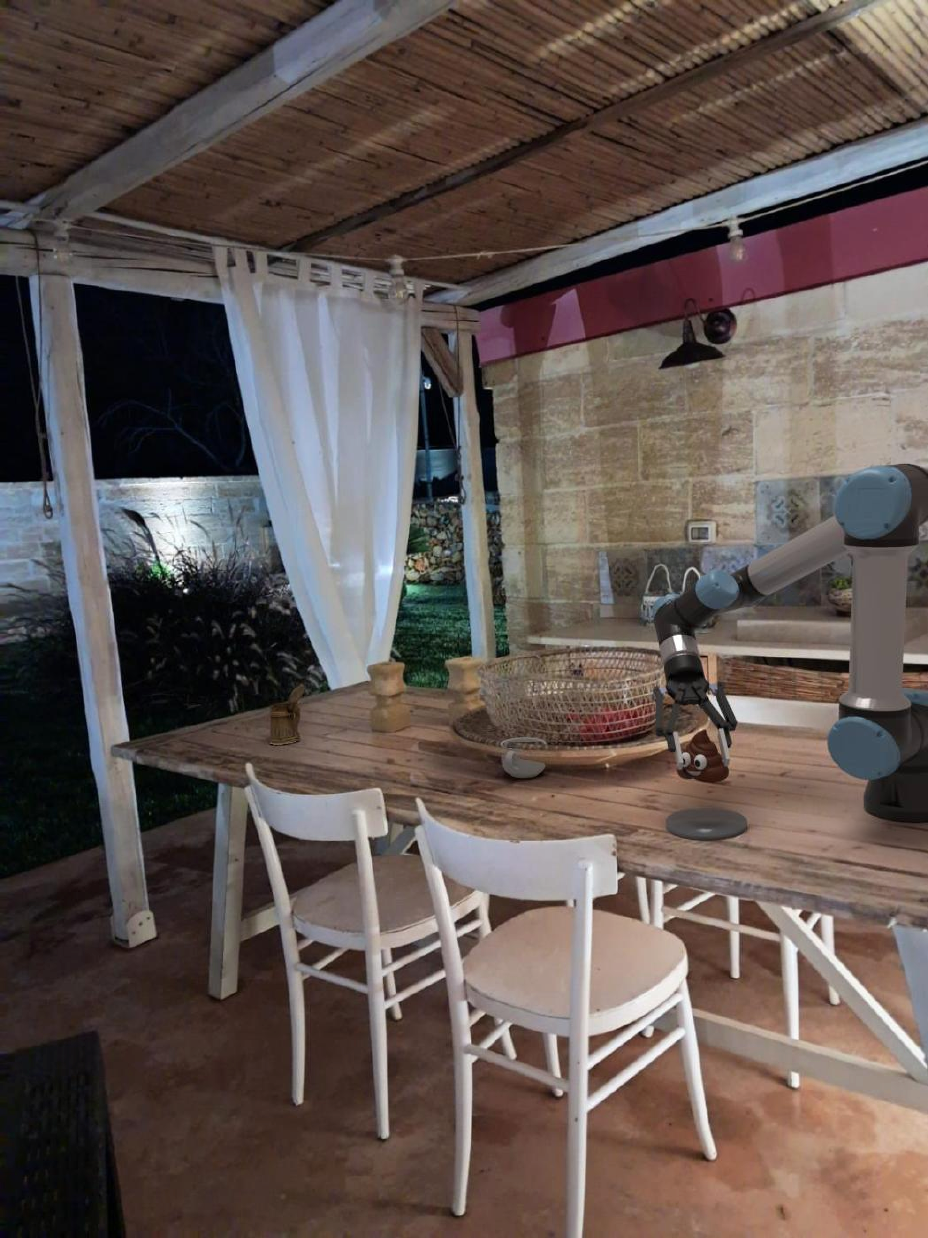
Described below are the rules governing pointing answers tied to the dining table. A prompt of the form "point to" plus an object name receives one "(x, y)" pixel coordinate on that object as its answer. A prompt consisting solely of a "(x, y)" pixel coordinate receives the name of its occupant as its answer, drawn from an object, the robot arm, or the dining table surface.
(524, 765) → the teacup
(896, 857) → the dining table surface
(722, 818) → the charcoal plate
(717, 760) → the poop emoji
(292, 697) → the wooden mug
